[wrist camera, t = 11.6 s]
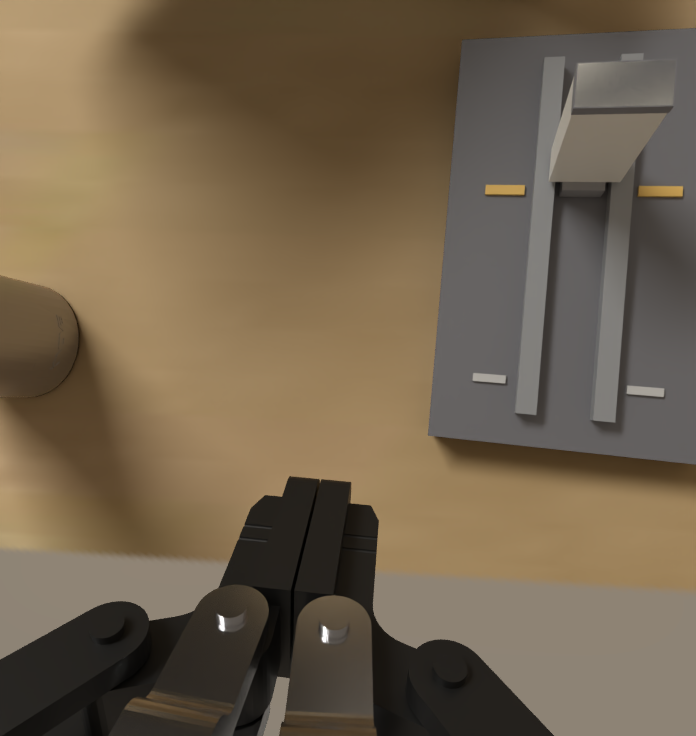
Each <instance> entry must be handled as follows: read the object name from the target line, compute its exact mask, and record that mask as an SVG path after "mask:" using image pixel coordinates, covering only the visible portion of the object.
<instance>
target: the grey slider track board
mask: <svg viewBox="0 0 696 736" xmlns="http://www.w3.org/2000/svg"><path fill="white" fill-rule="evenodd" d="M653 59H677V73H676V86H675V99H674V107H673V108H672V110H671V111H670V113H667V114H666V116H665V117H664V119H663V120H662V122H661V123H660V125H659V126H658V128H657V129H656V130H655V132H654V133H653V135H652V136H651V138H650V139H649V141H648V142H647V144H646V145H645V147H644V148H643V150H642V151H641V152H640V154H639V155H638V157H637V158H636V160H635V161H634V163H633V164H632V166H631V167H630V169H629V170H628V172H627V173H626V174H625V176H624V177H623V179H622V180H621V182H606V183H605V191H604V193H603V194H602V196H601V197H559V192H560V182H549V172H550V160H551V149H552V146H553V142H554V139H555V136H556V133H557V129H558V126H559V123H560V120H561V117H562V113H563V110H564V107H565V104H566V100H567V97H568V94H569V91H570V87H571V84H572V81H573V78H574V70H575V67H576V64H577V62H601V61H627V60H653ZM428 436H437V437H446V438H456V439H465V440H474V441H483V442H492V443H502V444H511V445H520V446H529V447H539V448H548V449H557V450H566V451H576V452H585V453H594V454H603V455H612V456H622V457H631V458H640V459H649V460H659V461H668V462H677V463H686V464H696V28H689V29H668V30H648V31H628V32H608V33H588V34H568V35H547V36H527V37H507V38H487V39H467V40H462V47H461V58H460V70H459V82H458V93H457V105H456V117H455V128H454V140H453V151H452V163H451V175H450V186H449V198H448V209H447V221H446V233H445V244H444V256H443V268H442V279H441V291H440V302H439V314H438V326H437V337H436V349H435V360H434V372H433V384H432V395H431V407H430V418H429V430H428Z"/></svg>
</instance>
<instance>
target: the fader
mask: <svg viewBox="0 0 696 736" xmlns="http://www.w3.org/2000/svg"><path fill="white" fill-rule="evenodd" d="M676 73H677V59H653V60H627V61H601V62H577V64H576V67H575V70H574V78H573V81H572V84H571V87H570V91H569V94H568V97H567V100H566V104H565V107H564V110H563V113H562V117H561V120H560V123H559V126H558V129H557V133H556V136H555V139H554V142H553V146H552V149H551V160H550V172H549V182H560V192H559V197H601V196H602V194H603V193H604V191H605V183H606V182H621V180H622V179H623V177H624V176H625V174H626V173H627V172H628V170H629V169H630V167H631V166H632V164H633V163H634V161H635V160H636V158H637V157H638V155H639V154H640V152H641V151H642V150H643V148H644V147H645V145H646V144H647V142H648V141H649V139H650V138H651V136H652V135H653V133H654V132H655V130H656V129H657V128H658V126H659V125H660V123H661V122H662V120H663V119H664V117H665V116H666V114H667V113H670V111H671V110H672V108H673V107H674V99H675V86H676Z"/></svg>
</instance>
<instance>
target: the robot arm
mask: <svg viewBox="0 0 696 736" xmlns="http://www.w3.org/2000/svg"><path fill="white" fill-rule="evenodd" d="M78 339H79V332H78V327H77V321H76V319H75V316H74V313H73V311H72V309H71V308H70V306H69V305H68V303H67V301H66V300H65V299H64V298H63V297H62V296H60V295H59V294H58V293H57V292H55V291H53V290H52V289H50V288H47V287H43V286H40V285H36V284H32V283H28V282H24V281H20V280H16V279H12V278H8V277H5V276H1V275H0V397H34V396H40V395H42V394H45V393H47V392H49V391H51V390H52V389H54V388H55V387H57V386H58V385H59V384H60V383H61V382H62V381H63V380H64V379H65V378H66V376H67V374H68V373H69V371H70V370H71V368H72V366H73V363H74V361H75V358H76V355H77V350H78ZM350 500H351V482H344V481H334V480H323V479H322V480H321V482H320V480H319V479H312V478H301V477H291V476H290V477H289V478H288V481H287V484H286V487H285V490H284V493H283V496H282V497H278V496H268V495H265V496H264V497H263V498H262V499H261V500H259V501H258V502H257V503H256V504H255V505H254V506H253V507H252V508H251V510H250V512H249V514H248V517H247V519H246V522H245V526H244V527H243V529H242V532H241V534H240V538H239V540H238V541H237V544H236V546H235V549H234V551H233V554H232V556H231V559H230V561H229V564H228V566H227V569H226V571H225V573H224V576H223V578H222V581H221V583H220V586H219V588H218V589H215V590H213V591H212V592H210V593H208V594H207V595H206V596H205V597H204V598H203V599H202V600H201V601H200V602H199V604H198V605H197V607H196V609H195V611H193V612H191V613H188V614H185V615H181V616H176V617H171V618H164V619H159V620H152V621H149V618H148V616H147V614H146V612H145V610H144V609H142V608H141V607H140V606H138V605H136V604H134V603H131V602H123V601H120V602H119V601H118V602H110V603H106V604H103V605H100V606H97V607H95V608H93V609H91V610H89V611H88V612H86V613H84V614H82V615H80V616H78V617H77V618H75V619H73V620H71V621H69V622H68V623H66V624H64V625H62V626H60V627H59V628H57V629H55V630H53V631H51V632H50V633H48V634H46V635H45V636H42V637H41V638H39V639H37V640H35V641H34V642H32V643H30V644H28V645H26V646H24V647H22V648H21V649H19V650H17V651H15V652H13V653H12V654H10V655H8V656H6V657H4V658H3V659H1V660H0V736H263V734H264V730H265V727H266V724H267V721H268V717H269V713H270V702H271V699H272V695H273V691H274V687H275V683H276V679H277V677H286V678H290V682H289V689H288V696H287V705H286V712H285V719H284V722H282V724H281V728H280V734H279V736H554V735H553V734H552V733H551V732H550V731H549V730H548V729H547V728H546V727H545V726H544V725H543V724H542V723H541V722H540V720H539V719H538V718H537V717H536V716H535V715H534V714H533V713H532V712H531V711H530V710H529V709H528V708H527V707H526V706H525V705H524V704H523V703H522V701H521V700H520V699H518V697H517V696H516V695H515V694H514V693H513V692H512V691H511V690H510V689H509V688H508V687H507V686H506V685H505V684H504V683H503V681H502V680H500V678H499V677H498V676H497V675H496V674H495V673H494V672H493V671H492V670H491V669H490V668H489V667H488V666H487V665H486V663H484V661H483V660H482V659H481V658H480V657H479V656H478V655H477V654H476V653H475V652H473V651H472V650H471V649H469V648H468V647H466V646H464V645H462V644H460V643H457V642H454V641H450V640H433V641H429V642H426V643H424V644H422V645H421V646H419V647H418V648H417V649H415V648H413V647H411V646H408V645H406V644H404V643H401V642H399V641H397V640H395V639H394V638H392V637H391V636H389V635H388V634H387V633H386V632H385V631H384V630H383V629H382V628H381V627H380V626H379V624H378V622H377V621H376V618H375V616H374V612H373V593H374V579H375V565H376V551H377V537H378V523H379V520H378V519H377V517H376V515H375V513H374V511H373V509H372V507H371V506H370V505H360V504H350Z"/></svg>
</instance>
